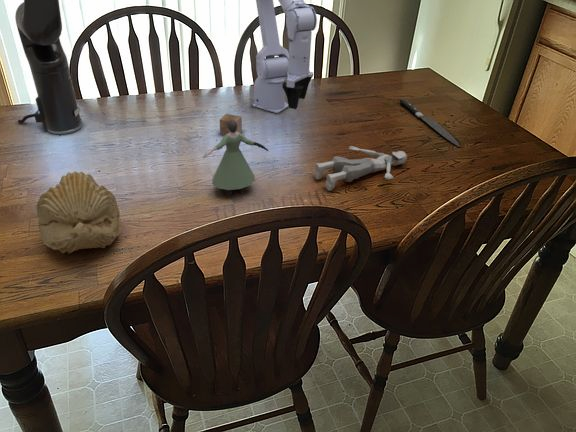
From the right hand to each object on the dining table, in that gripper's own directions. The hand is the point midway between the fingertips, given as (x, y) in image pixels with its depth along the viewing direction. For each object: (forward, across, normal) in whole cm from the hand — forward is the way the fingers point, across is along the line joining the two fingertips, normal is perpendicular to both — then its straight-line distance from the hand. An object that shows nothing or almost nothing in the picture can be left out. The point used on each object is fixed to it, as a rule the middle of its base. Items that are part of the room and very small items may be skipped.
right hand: (297, 103), depth 142 cm
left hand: (-31, +10, +66) cm, 74 cm away
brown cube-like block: (+8, -11, +16) cm, 21 cm away
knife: (+8, +19, -37) cm, 42 cm away
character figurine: (+8, -37, +3) cm, 38 cm away
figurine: (+8, -18, -24) cm, 31 cm away
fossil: (+8, -66, +24) cm, 70 cm away
